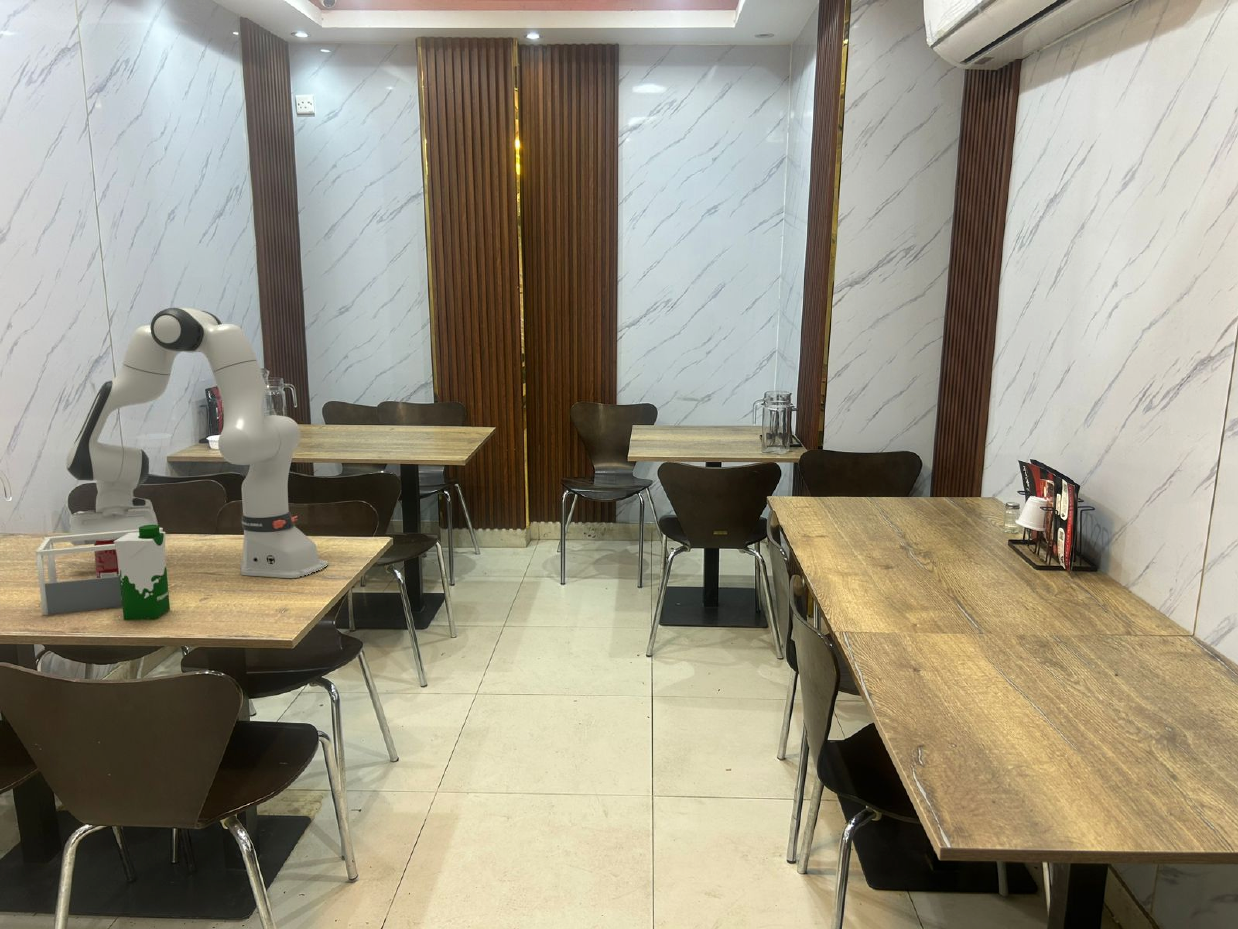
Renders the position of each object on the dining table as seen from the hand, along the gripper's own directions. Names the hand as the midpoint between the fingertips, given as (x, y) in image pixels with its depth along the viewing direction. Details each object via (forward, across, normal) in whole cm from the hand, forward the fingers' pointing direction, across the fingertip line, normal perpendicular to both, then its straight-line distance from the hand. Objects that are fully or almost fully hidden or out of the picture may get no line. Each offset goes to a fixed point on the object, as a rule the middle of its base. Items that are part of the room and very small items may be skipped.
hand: (114, 555), depth 234 cm
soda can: (+10, 0, -2) cm, 10 cm away
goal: (+18, 0, -11) cm, 22 cm away
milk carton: (+29, +9, -22) cm, 37 cm away
